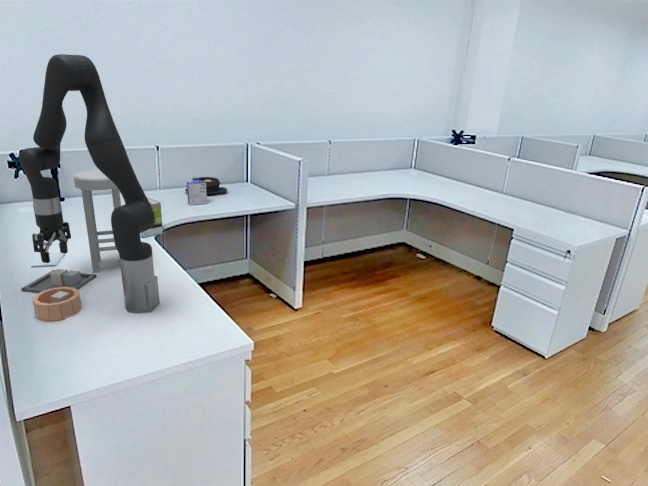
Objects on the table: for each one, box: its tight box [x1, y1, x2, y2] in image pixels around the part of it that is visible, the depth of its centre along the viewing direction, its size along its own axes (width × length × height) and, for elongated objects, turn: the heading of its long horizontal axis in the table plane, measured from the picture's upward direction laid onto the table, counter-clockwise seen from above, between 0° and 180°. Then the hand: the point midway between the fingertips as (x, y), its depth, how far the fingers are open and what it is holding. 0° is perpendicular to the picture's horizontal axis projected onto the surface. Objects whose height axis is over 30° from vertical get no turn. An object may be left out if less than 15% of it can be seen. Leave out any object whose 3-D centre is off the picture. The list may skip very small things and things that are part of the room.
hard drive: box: [30, 252, 66, 268], centre depth 169 cm, size 2×8×12 cm
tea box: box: [124, 196, 163, 238], centre depth 202 cm, size 15×10×15 cm
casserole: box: [184, 176, 228, 196], centre depth 273 cm, size 25×19×8 cm
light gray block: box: [63, 270, 82, 288], centre depth 150 cm, size 4×4×4 cm
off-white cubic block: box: [50, 268, 69, 287], centre depth 151 cm, size 4×4×4 cm
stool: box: [73, 169, 122, 274], centre depth 162 cm, size 16×16×35 cm
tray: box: [20, 269, 98, 294], centre depth 152 cm, size 16×15×1 cm
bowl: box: [32, 287, 82, 322], centre depth 135 cm, size 12×12×5 cm
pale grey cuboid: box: [50, 291, 70, 303], centre depth 135 cm, size 4×4×4 cm
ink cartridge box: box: [186, 177, 208, 206], centre depth 249 cm, size 10×6×14 cm, turn 118°
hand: (55, 257), depth 148 cm, fingers open, 8 cm apart
